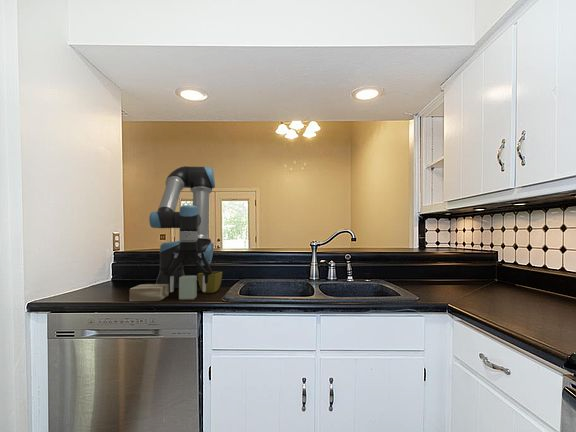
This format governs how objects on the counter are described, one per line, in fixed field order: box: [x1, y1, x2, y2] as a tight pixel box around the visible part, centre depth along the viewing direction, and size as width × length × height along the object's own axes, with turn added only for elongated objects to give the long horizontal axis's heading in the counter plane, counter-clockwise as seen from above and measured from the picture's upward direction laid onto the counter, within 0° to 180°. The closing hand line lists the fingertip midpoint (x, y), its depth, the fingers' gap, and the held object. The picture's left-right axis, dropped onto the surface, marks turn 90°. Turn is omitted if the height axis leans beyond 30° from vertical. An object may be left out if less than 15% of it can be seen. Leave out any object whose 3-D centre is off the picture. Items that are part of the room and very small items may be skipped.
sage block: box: [178, 275, 198, 300], centre depth 145 cm, size 6×6×9 cm
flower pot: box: [197, 271, 223, 294], centre depth 158 cm, size 9×9×9 cm
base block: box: [128, 283, 170, 302], centre depth 144 cm, size 12×12×5 cm
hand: (188, 291), depth 145 cm, fingers open, 13 cm apart
